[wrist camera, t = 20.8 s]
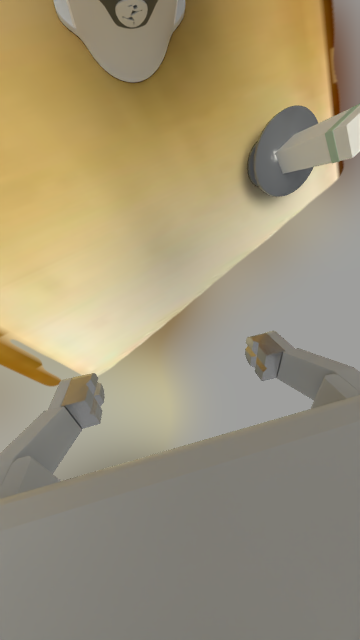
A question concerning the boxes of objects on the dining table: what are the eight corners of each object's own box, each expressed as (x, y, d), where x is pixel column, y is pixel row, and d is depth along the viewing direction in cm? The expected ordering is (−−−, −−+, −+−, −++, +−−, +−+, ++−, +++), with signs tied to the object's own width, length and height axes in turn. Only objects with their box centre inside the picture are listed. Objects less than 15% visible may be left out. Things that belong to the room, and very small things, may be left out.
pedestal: (240, 124, 37) (260, 108, 31) (299, 118, 38) (329, 102, 33) (237, 201, 44) (253, 200, 38) (287, 193, 45) (310, 191, 40)
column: (274, 152, 35) (346, 125, 23) (293, 134, 34) (377, 95, 22) (282, 174, 37) (352, 158, 25) (301, 156, 36) (381, 132, 24)
